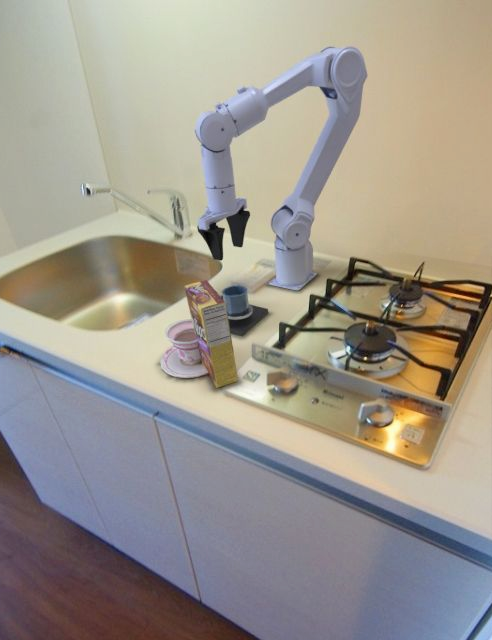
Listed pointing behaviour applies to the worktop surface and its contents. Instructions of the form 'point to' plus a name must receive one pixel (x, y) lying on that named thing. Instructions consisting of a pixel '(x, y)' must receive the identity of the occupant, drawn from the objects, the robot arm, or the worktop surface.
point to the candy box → (212, 332)
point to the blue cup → (236, 299)
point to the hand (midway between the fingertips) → (228, 252)
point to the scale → (247, 321)
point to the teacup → (182, 351)
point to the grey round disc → (242, 315)
